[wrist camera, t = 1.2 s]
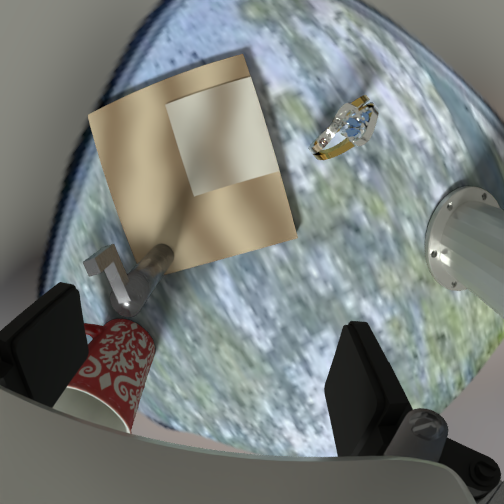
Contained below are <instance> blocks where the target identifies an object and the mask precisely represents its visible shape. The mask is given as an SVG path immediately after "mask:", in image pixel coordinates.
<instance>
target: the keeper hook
mask: <svg viewBox="0 0 504 504" xmlns="http://www.w3.org/2000/svg"><path fill="white" fill-rule="evenodd" d="M173 260H174V252H173V250H172V249H171V248H170V247H169V246H168V245H166V244H157V245H155V246H154V247H153V248H152V249H151V250H150V251H149V252H148V253H147V254H146V255H145V256H144V258H143V259H142V260H141V261H140V262H139V263H138V264H137V265H136V266H135V267H134V268H133V269H132V270H131V271H130V272H129V273H128V274H126V272H125V269H124V267H123V264H122V262H121V260H120V257H119V255H118V252H117V250H116V247H115V245H114V244H111V245H108V246H105V247H103V248H101V249H100V250H99V251H97V252H96V253H94V254H93V255H92V256H90V257H89V258H88V259H86V260H85V261H84V262H83V264H84V266H85V269H86V271H87V273H88V275H89V276H93V275H96V274H99V273H101V272H102V271H105V273H106V275H107V278H108V280H109V282H110V284H111V287H112V289H113V291H112V292H111V295H110V302H111V305H112V307H113V309H114V310H115V311H116V312H117V313H118V314H120V315H122V316H125V317H133V316H135V315H137V314H138V313H139V311H140V310H141V308H142V307H143V305H144V304H145V302H146V301H147V299H148V298H149V296H150V295H151V293H152V292H153V290H154V289H155V287H156V286H157V284H158V283H159V281H160V280H161V278H162V277H163V275H164V274H165V272H166V271H167V269H168V268H169V266H170V265H171V264H172V262H173Z"/></svg>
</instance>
